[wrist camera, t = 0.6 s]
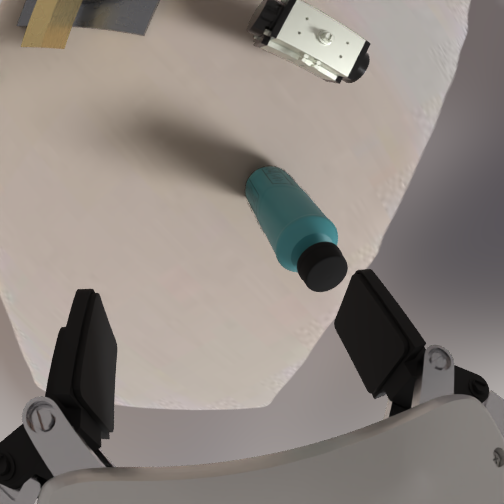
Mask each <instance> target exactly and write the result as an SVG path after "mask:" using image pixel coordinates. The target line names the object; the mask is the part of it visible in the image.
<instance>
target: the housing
mask: <svg viewBox="0 0 504 504" xmlns="http://www.w3.org/2000/svg"><path fill="white" fill-rule="evenodd" d="M159 1H160V0H83V1H82V3H81V5H80V8H79V10H78V12H77V15H76V17H75V20H74V23H73V25H72V27H82V28H93V29H103V30H111V31H118V32H125V33H131V34H137V35H142V36H145V33H146V31H147V28H148V26H149V24H150V21H151V19H152V17H153V14H154V12H155V10H156V8H157V6H158V3H159ZM36 2H37V0H26V3H25V5H24V8H23V10H22V13H21V15H20V18H19V21H18V24H17V26H19V27H22V26H28V23H29V20H30V17H31V15H32V12H33V10H34V7H35V5H36Z"/></svg>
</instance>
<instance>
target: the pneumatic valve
mask: <svg viewBox="0 0 504 504" xmlns="http://www.w3.org/2000/svg"><path fill="white" fill-rule="evenodd" d="M247 32H249V33H251V34H254V37H253V38H254V42H255V43H254V46H256V47H259V48H261V49H263V50H265V51H268V52H270V53H272V54H274V55H276V56H279V57H281V58H283V59H285V60H287V61H289V62H291V63H293V64H295V65H297V66H299V67H301V68H303V69H305V70H307V71H309V72H310V73H312V74H314V75H316V76H318V77H320V78H321V79H323V80H325V81H327V82H333V83H339V84H340V82H341V80H343V81H345V82H346V83H352V82H355V81H357V80H358V79H359V78H360V77H361V76H362V75H363V74H364V73H365V71H366V69H367V67H368V65H369V60H370V59H369V55H368V53H367V50H368V48H369V46H370V43H369V42H368V41H366V40H365V39H364V38H362V37H361V36H359V35H358V34H356V33H355V32H353V31H352V30H350V29H349V28H347V27H346V26H344V25H343V24H341V23H340V22H338V21H337V20H335V19H333V18H332V17H330V16H328V15H327V14H325V13H323V12H322V11H320V10H318V9H316V8H315V7H313V6H311V5H309V4H307V3H305V2H304V1H302V0H281V2H280V1H278V0H263V1H262V2H261V3H260V5H259V6H258V8H257V9H256V11H255V12H254V14H253V16H252V18H251V20H250V22H249V24H248V27H247Z"/></svg>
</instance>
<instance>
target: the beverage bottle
mask: <svg viewBox="0 0 504 504" xmlns="http://www.w3.org/2000/svg"><path fill="white" fill-rule="evenodd" d="M245 186H246V190H245V192H246V193H245V194H246V197H247V200H248V202H249V204H250V205H249V206H251V208H252V210H253V211H254V213H255V215H256V217H257V220H258V221H259V224H260V225H261V226H260V227H262V229H263V232H264V233H265V234H266V236H267V238H268V240H269V242H270V244H271V246H272V248H273V250H274V252H275V254H276V257H277V259H278V261H279V263H280V264H281V265H282V266H283V267H284V268H285V269H287V270H289V271H292V272H298V274H299V275H300V277H301V279H302V280H303V281H304V282H305V284H306V285H307V287H308V288H309V289H311V290H312V291H316V292H324V291H328V290H330V289H332V288H334V287H336V286H337V285H338V284H339V283H340V282H341V281H342V280H343V279H344V277H345V276H346V273H347V269H348V267H347V262H346V260H345V258H344V257H343V255H342V252H341V251H340V249H339V248H338V247H337V242H338V233H337V229H336V227H335V225H334V224H333V223H332V222H331V221H330V220H329V219H328V218H327V217H326V216H325V215H324V214H323V212H322V211H321V210H320V209H319V208H318V207H317V206H316V205H315V203H314V202H315V201H314V202H313V201H312V200H311V199H310V197H309V196H308V195H307V194H306V193H307V192H306V193H305V192H304V191H303V189H302V188H300V187H299V186H298V184H297V183H296V182H295V181H294V179H292V177H291V176H290V174H289V175H288V174H287V173H286V171H284V170H282V169H280V168H278V167H276V166H275V167H273V166H267V167H262V168H260V169H258V170H256V171H255V172H254V173H253V174H251V176H250V177H249V179H248V180H247V184H246V185H245ZM259 224H258V225H259ZM260 229H261V228H260ZM262 229H261V230H262ZM264 233H263V234H264Z"/></svg>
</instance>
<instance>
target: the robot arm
mask: <svg viewBox="0 0 504 504" xmlns="http://www.w3.org/2000/svg"><path fill="white" fill-rule="evenodd" d="M334 325H335V329H336V331H337V333H338V335H339V337H340V338H341V340H342V342H343V344H344V346H345V348H346V350H347V352H348V354H349V356H350V357H351V360H352V361H353V363H354V365H355V367H356V369H357V371H358V373H359V375H360V377H361V379H362V381H363V383H364V385H365V387H366V389H367V391H368V392H369V393H372V395H373V397H374V399H376V398H379V397H381V396H384V395H385V394H387V396H388V403H387V407H386V411H385V415H384V419H383V420H382V421H379V422H377V423H374V424H372V425H369V426H366V427H364V428H361V429H358V430H355V431H352V432H350V433H347V434H344V435H340V436H337V437H334V438H331V439H328V440H324V441H321V442H318V443H314V444H310V445H307V446H303V447H300V448H295V449H291V450H287V451H282V452H278V453H273V454H268V455H263V456H258V457H252V458H246V459H240V460H233V461H227V462H218V463H209V464H199V465H186V466H170V467H169V466H168V467H115V465H114V464H113V463H112V462H111V461H110V460H109V459H108V458H107V456H106V455H105V454H104V453H103V452H102V450H101V449H100V447H101V439H109V432H113V429H114V393H115V374H116V360H117V343H116V340H115V337H114V335H113V332H112V329H111V327H110V324H109V321H108V318H107V315H106V313H105V310H104V307H103V304H102V301H101V298H100V295H99V293H95V292H94V290H93V289H78V290H77V291H76V294H75V297H74V300H73V304H72V307H71V311H70V314H69V318H68V321H67V325H66V327H62V328H61V329H60V331H59V334H58V338H57V341H56V346H55V350H54V354H53V358H52V363H51V368H50V372H49V378H48V383H47V388H46V394H45V397H43V396H41V397H35V398H33V399H31V400H30V401H29V402H28V403H27V404H26V406H25V408H24V410H23V414H22V421H23V424H22V425H21V426H19V427H18V428H17V429H16V430H15V431H13V432H12V433H11V434H10V435H9V436H7V437H6V438H5V439H4V440H3V441H1V442H0V504H34V503H35V500H36V499H37V498H38V502H37V504H504V400H503V399H502V398H501V397H500V396H498V395H497V394H496V393H494V392H493V391H492V390H491V391H490V392H489V387H488V384H487V383H486V381H485V380H484V379H483V378H482V377H481V376H479V375H477V374H475V373H472V372H470V371H467V370H465V369H463V368H460V367H458V366H455V365H454V360H453V357H452V355H451V354H450V352H449V351H448V350H447V349H445V348H444V347H442V346H439V345H431V346H429V347H428V348H427V349H425V347H424V346H425V344H426V342H425V341H424V339H423V338H422V337H421V335H420V334H419V332H418V331H417V329H416V328H415V327H414V325H413V324H412V322H411V321H410V320H409V318H408V317H407V315H406V314H405V313H404V311H403V310H402V308H401V307H400V306H399V305H398V303H397V302H396V301H395V299H394V298H393V296H392V295H391V294H390V292H389V291H388V290H387V289H386V287H385V286H384V285H383V283H382V282H381V281H380V279H379V278H378V277H377V276H376V275H375V273H374V272H373V271H372V270H371V269H365V270H357V271H356V272H355V274H354V275H352V277H351V280H350V283H349V285H348V288H347V291H346V293H345V296H344V298H343V301H342V304H341V306H340V309H339V311H338V314H337V316H336V319H335V322H334Z"/></svg>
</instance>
